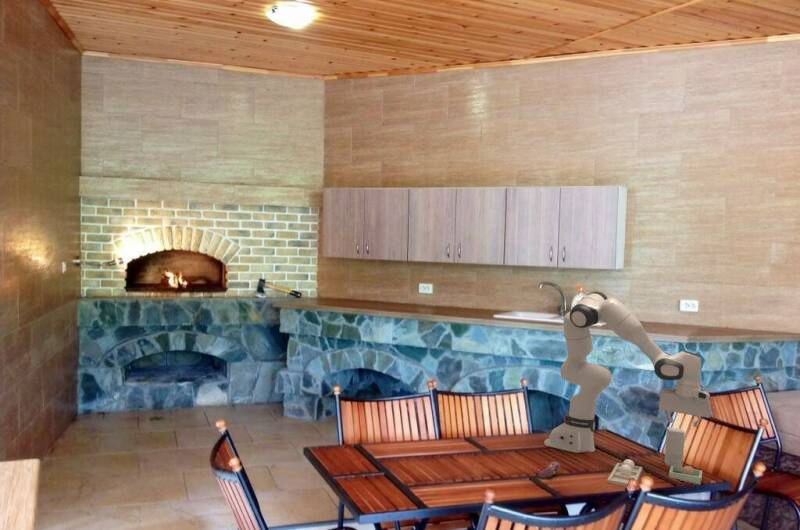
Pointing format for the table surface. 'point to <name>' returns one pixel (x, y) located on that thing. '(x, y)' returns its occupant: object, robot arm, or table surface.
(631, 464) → the white egg
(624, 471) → the white egg
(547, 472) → the brown animal figurine
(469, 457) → the table surface
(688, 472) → the brown egg
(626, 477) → the shallow rectangular tray
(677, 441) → the skincare box
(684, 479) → the dish
